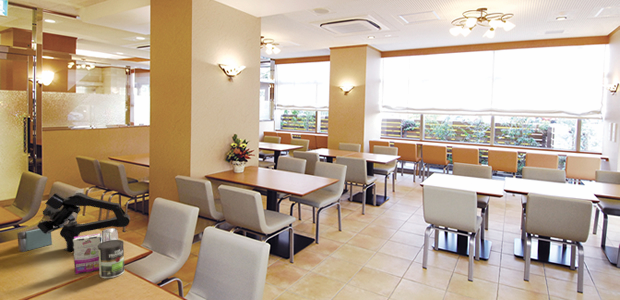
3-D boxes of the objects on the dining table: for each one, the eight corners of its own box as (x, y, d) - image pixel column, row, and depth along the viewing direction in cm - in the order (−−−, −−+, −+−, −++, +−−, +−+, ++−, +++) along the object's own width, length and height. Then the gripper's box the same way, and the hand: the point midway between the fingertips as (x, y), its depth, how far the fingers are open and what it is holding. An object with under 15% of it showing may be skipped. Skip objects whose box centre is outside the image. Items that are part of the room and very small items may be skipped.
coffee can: (129, 271, 164) (128, 242, 162) (107, 280, 155) (105, 250, 153) (116, 266, 169) (115, 237, 167) (94, 274, 160) (92, 245, 158)
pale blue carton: (46, 242, 195) (45, 224, 193) (24, 252, 181) (22, 233, 180) (39, 242, 195) (38, 224, 194) (16, 252, 182) (15, 232, 181)
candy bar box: (103, 265, 169) (101, 232, 167) (103, 269, 165) (101, 236, 163) (76, 270, 164) (73, 236, 162) (74, 274, 160) (72, 240, 158)
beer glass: (122, 258, 178) (120, 229, 176) (109, 263, 171) (107, 233, 170) (112, 255, 181) (111, 227, 179) (99, 260, 174) (98, 231, 172)
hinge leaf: (52, 244, 191) (50, 227, 190) (22, 252, 181) (20, 234, 180) (50, 243, 193) (49, 226, 192) (20, 251, 182) (19, 233, 181)
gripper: (68, 197, 193) (51, 216, 196) (38, 207, 175) (20, 227, 177) (82, 212, 193) (65, 230, 196) (54, 223, 175) (36, 243, 177)
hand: (47, 232), depth 186 cm, fingers closed
